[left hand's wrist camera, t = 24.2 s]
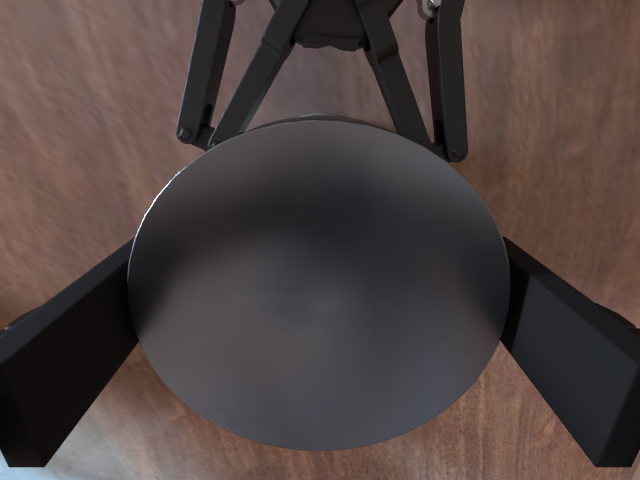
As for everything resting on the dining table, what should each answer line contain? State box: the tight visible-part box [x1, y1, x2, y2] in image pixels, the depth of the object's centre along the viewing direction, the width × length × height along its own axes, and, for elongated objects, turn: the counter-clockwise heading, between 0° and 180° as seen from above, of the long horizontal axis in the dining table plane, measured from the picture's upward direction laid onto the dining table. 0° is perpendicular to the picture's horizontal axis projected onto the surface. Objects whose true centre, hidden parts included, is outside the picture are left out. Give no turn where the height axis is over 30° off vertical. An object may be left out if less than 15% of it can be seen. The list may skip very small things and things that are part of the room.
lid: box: [127, 116, 511, 451], centre depth 11 cm, size 11×11×2 cm
